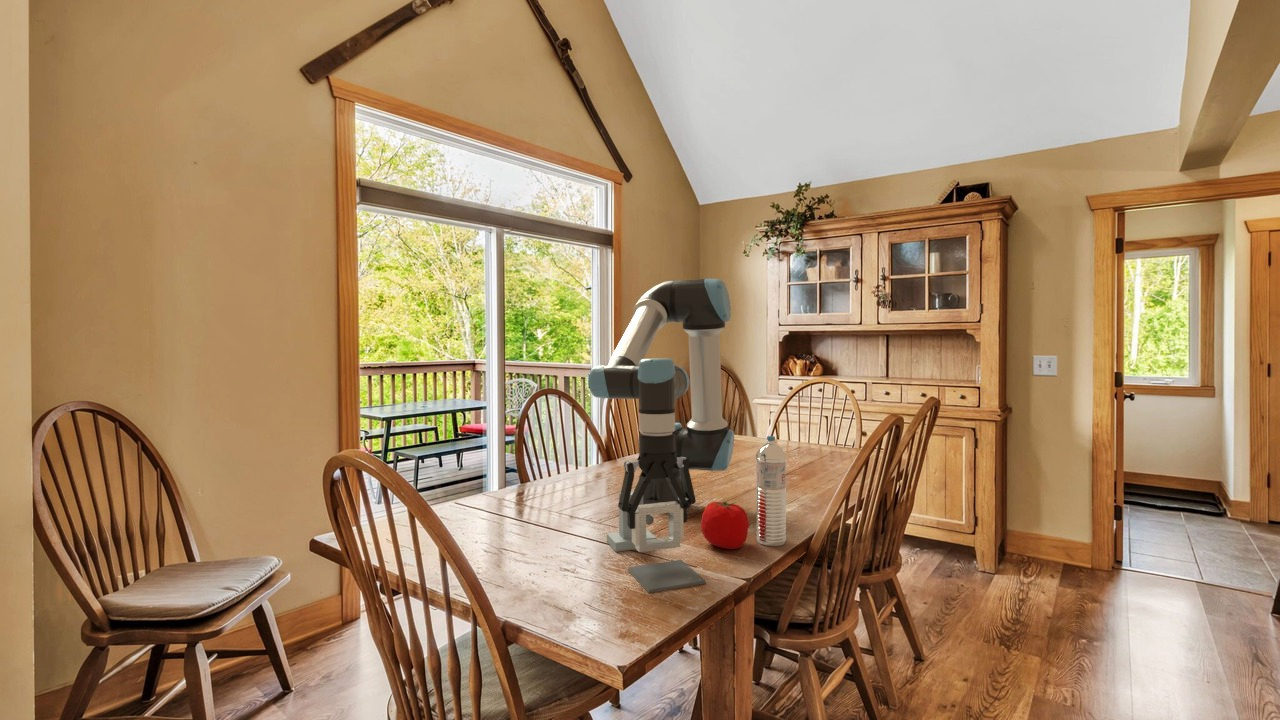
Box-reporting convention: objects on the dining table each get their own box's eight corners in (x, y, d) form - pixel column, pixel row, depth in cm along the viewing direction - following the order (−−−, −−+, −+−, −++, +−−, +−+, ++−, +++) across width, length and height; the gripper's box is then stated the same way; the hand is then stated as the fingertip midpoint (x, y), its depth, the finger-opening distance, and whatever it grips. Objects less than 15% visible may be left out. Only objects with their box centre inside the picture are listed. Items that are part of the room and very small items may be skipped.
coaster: (680, 562, 129) (680, 559, 129) (705, 583, 118) (705, 580, 118) (628, 570, 125) (628, 567, 125) (648, 592, 114) (648, 589, 114)
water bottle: (767, 535, 146) (766, 433, 145) (791, 542, 141) (791, 436, 140) (750, 542, 141) (750, 436, 141) (775, 549, 136) (775, 440, 136)
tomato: (724, 558, 131) (724, 512, 131) (689, 542, 142) (689, 499, 141) (762, 548, 137) (762, 504, 137) (726, 533, 148) (726, 492, 147)
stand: (606, 541, 143) (606, 491, 142) (646, 536, 146) (645, 487, 146) (627, 564, 128) (627, 508, 128) (671, 558, 131) (670, 504, 131)
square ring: (675, 543, 127) (675, 501, 127) (680, 546, 125) (679, 504, 125) (635, 548, 124) (635, 505, 124) (639, 552, 122) (639, 508, 122)
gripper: (696, 427, 131) (697, 529, 132) (601, 433, 124) (602, 541, 125) (712, 432, 124) (713, 540, 125) (611, 438, 117) (613, 553, 117)
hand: (657, 540), depth 125 cm, fingers closed on square ring, 9 cm apart
